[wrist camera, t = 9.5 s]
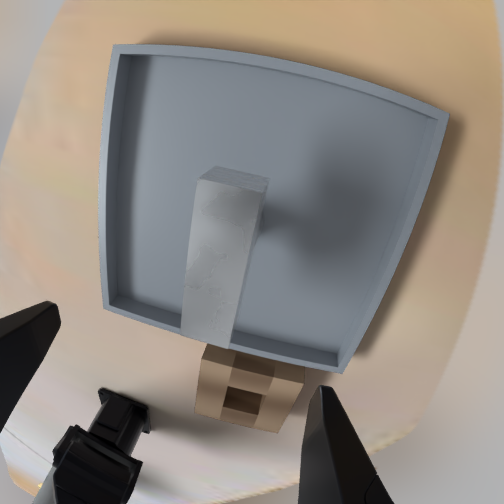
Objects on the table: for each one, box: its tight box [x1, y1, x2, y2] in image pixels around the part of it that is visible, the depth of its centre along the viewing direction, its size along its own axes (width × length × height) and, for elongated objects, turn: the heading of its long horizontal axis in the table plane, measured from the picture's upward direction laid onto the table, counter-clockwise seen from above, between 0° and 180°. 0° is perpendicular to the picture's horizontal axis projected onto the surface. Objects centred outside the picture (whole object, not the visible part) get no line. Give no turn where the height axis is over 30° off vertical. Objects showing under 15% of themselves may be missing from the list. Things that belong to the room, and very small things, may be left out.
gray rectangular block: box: [180, 166, 270, 349], centre depth 17 cm, size 8×2×7 cm, turn 169°
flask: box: [32, 466, 56, 504], centre depth 40 cm, size 15×6×20 cm, turn 140°
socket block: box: [194, 343, 305, 433], centre depth 26 cm, size 8×8×2 cm
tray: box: [98, 44, 450, 374], centre depth 19 cm, size 19×19×2 cm
